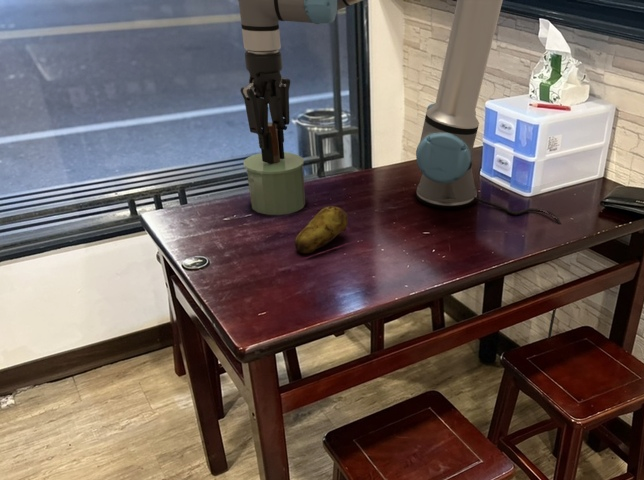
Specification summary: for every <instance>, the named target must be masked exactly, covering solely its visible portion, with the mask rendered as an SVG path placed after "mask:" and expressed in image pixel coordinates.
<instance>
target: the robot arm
mask: <svg viewBox="0 0 644 480" xmlns="http://www.w3.org/2000/svg"><path fill="white" fill-rule="evenodd" d="M362 1H364V0H237V2H238V9H239V15H240V17H239V18H240V26H241V33H242V42H243V43H242V44H243V48H244V50H245V52H244V60H245V61H244V62H245V69H246V70H247V72H248V73H249V79H248V85H246V86H245V87H241V88H240V94H241V96H242V97H243V101H244V106H245V111H246V116H247V121H248V122H247V123H248V127H249V132H250V133H251V134H255V135H257V139H258V146H259V147H258V148H259V149H260V151H261V152H260V153H262V161H263V162H267V163H271V164H272V163H274V160H273V150H272V140H271V134H268V123H269V113H270V119H271V122H272V123H276V124H277V131H278V142H279V152H280V159H284V152H285V147H284V143H285V136H284V135H285V134H284V131H287V129H288V125H289V124H290V86H291V80H290V79H289V78H285V77H282V74H281V71H282V70H283V58H282V52H281V51H280V50H281V48H282V45H281V34H280V25H279V22H295V23H308V24H314V25H320V24H332V23H333V22H334V21H335V20H336V17H337V13H338V11H340V10H342V9H344V8H348V7H350V6H352V5H354V4H357V3H360V2H362ZM503 2H504V0H456V5H455V10H454V14H453V17H452V18H453V19H452V23H451V27H450V29H451V30H450V33H449V37H448V41H447V46H446V51H445V56H444V61H443V66H442V70H441V75H440V80H439V84H438V89H437V93H436V99H435V103H430V104H429V105H428V106H427V108H426V112H425V116H424V121H423V126H422V130H421V134H420V135H421V136H420V140H419V143H418V145H417V147H416V151H415V158H416V159H415V160H416V164H417V167H418V169H419V171H420V172H421V176H420V181H419V183H418V184H417V188H416V199H417V200H418V202H420V203H421V204H423V205H425V206H427V207H430V208H436V209H442V210H458V209H465V208H468V207H470V206H472V205H474V204H475V203H476V202H480V203H482V204H486V205H489V206H492V207H495V208H498V209H500V210H503V211H505V212H506V213H507V214H510V215H514V216H518V215H522V214H525V213H529V212H536V213H544V214H546V213H545V212H543V211H540V210H538V209H539V208H531V207H530V208H525V209H522V210H520V211H512V210H510V209H508V208H507V207H505V206H502V205H500V204H497V203H494V202H492V201H489V200H486V199H483V198H480V197H478V191H477V187H476V185H475V179H474V174H473V169H472V168H473V156H474V145H475V141H476V137H477V134H478V130H479V126H480V122H479V120H478V118H477V112H476V109H477V105H478V101H479V97H480V94H481V93H480V92H481V90H482V89H481V88H482V85H483V82H484V77H485V72H486V69H487V64H488V61H489V57H490V53H491V49H492V46H493V42H494V37H495V34H496V29H497V25H498V21H499V18H500V13H501V9H502V5H503ZM545 210H546V211H547V212H548V213H549V214H551V215H553V216H556V215H555V213H553V212H551V211H549V210H547V209H545ZM549 214H548V215H549ZM553 220H555V222H556V223H557V224H558V225H562V222H561V220H560V219H559V218H558V217H557V219H556V218H553ZM556 312H557V308H556V309H555V310H553V309H552V313H551V318H550V322H549V323H550V324H549V329H548V333H547V340H548V339H549V338H552V332H553V327H554V321H555V317H556Z"/></svg>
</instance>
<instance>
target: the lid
mask: <svg viewBox="0 0 644 480" xmlns="http://www.w3.org/2000/svg"><path fill="white" fill-rule="evenodd" d="M268 134H271V140H272V150H273V160H274V163H272V164H271V163H267V162H263V161H262V152H260V153H256V154H253V155H250V156H248V157H246V158H245V159H244V160H243V168H244V169H245V170H246V171H247V170H249V171H251V172H255V173H260V174H282V173H288V172H292V171H295V170H297V169H299V168H301V167H302V166H303V167H304V164H305V161H304V158H303V157H302V156H301V155H299V154H296V153H292V152H287V151H284V159H280V152H279V142H278V131H277V124H276V123H272V121H270V122H269V121H268Z"/></svg>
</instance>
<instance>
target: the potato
mask: <svg viewBox="0 0 644 480" xmlns="http://www.w3.org/2000/svg"><path fill="white" fill-rule="evenodd" d="M348 217H349V216H348V214H347V212H346V211H345V210H344V209H343V208H341V207H338V206H335V205H328V206H324V207H323V208H321V209H320V211H318V212H317V213H316V214H314V216H313V217H312V219H311V220H309V222H308V223H307V225H306V226H305V227H304V228H303V229H301V231H299V233H297V235H296V237H295V240H294V246H295V249H296V252H297V251H298V252H299V253H301V254H310V253H314V252H315V251H316V250H318V249H320V248H323V247H325V246H326V245H327V244H329V243H330V242H332V241H333V240H334V239H335V238H336V237H338V235H339V234H341V233H343V232H346V230H347V226H348V219H349V218H348Z"/></svg>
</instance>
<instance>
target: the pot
mask: <svg viewBox="0 0 644 480" xmlns="http://www.w3.org/2000/svg"><path fill="white" fill-rule="evenodd" d="M246 177H247V184H248V185H247V186H248V191H249V200H250V206H251V209H252V210H253V211H254V212H256V213H258V214H263V215H269V216H280V215H282V216H283V215H289V214H292V213H296V212H299V211H300V210H302V209H303V208H304V207H305V206H306V192H305V191H306V189H305V179H304V165H303V166H302V167H301V168H299V169H297V170H295V171H292V172H288V173H282V174H260V173H255V172H251V171H249V170H247V169H246Z"/></svg>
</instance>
